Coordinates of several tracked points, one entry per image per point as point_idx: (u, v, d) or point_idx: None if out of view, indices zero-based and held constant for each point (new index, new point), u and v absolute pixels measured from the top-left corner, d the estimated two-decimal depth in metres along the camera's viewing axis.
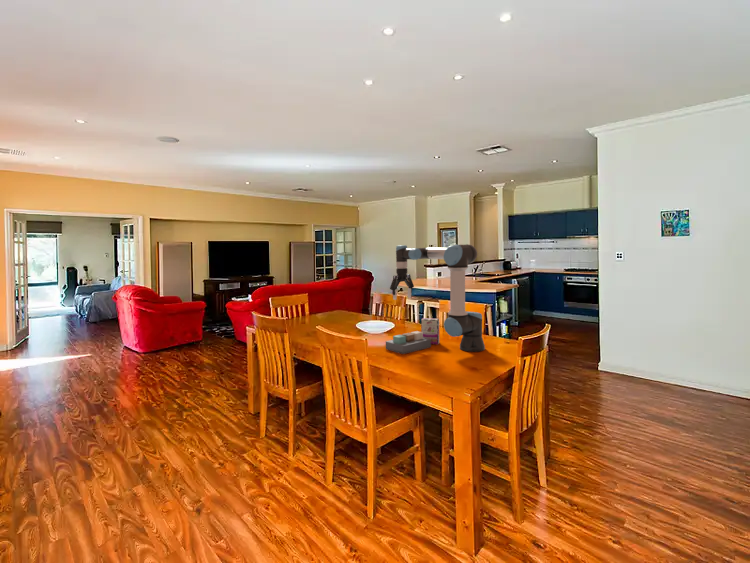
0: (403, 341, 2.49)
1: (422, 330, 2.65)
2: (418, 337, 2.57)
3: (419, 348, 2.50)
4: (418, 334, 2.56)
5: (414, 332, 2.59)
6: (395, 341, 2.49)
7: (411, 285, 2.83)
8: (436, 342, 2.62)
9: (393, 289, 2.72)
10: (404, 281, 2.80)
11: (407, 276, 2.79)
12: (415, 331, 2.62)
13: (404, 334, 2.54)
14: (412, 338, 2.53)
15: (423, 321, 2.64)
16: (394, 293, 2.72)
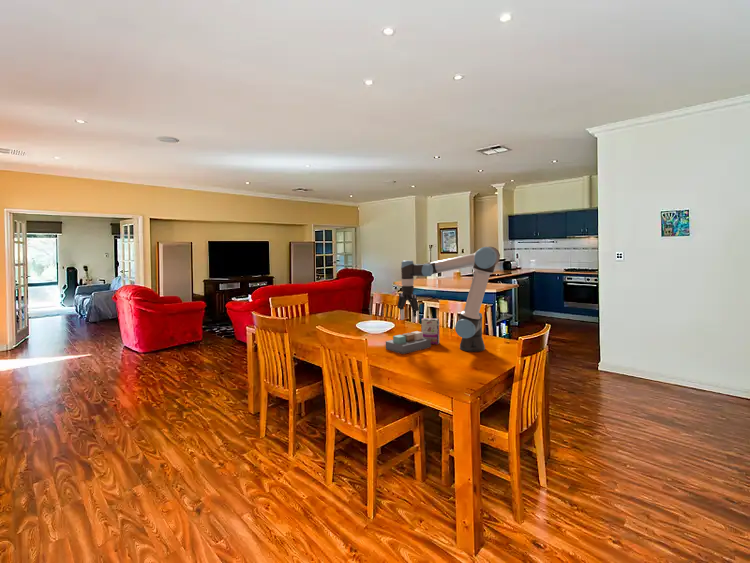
0: (403, 341, 2.49)
1: (422, 330, 2.65)
2: (418, 337, 2.57)
3: (419, 348, 2.50)
4: (418, 334, 2.56)
5: (414, 332, 2.59)
6: (395, 341, 2.49)
7: None
8: (436, 342, 2.62)
9: (399, 308, 2.58)
10: None
11: (412, 296, 2.48)
12: (415, 331, 2.62)
13: (404, 334, 2.54)
14: (412, 338, 2.53)
15: (423, 321, 2.64)
16: None
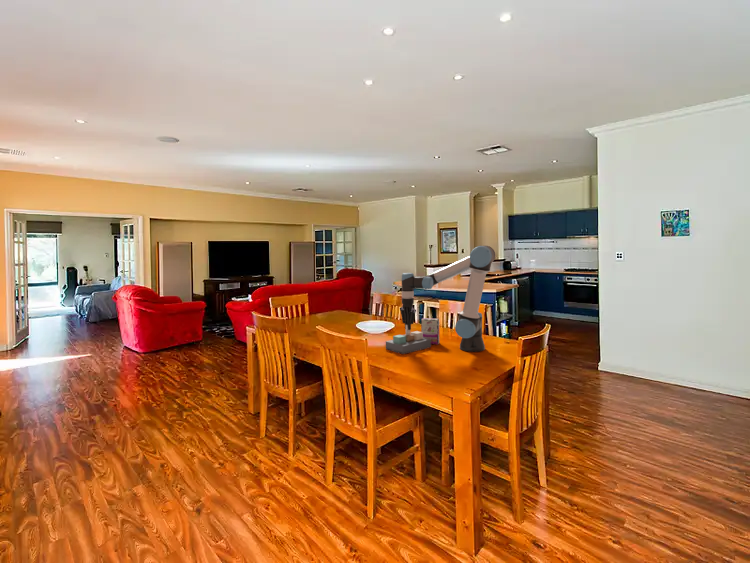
0: (403, 341, 2.49)
1: (422, 330, 2.65)
2: (418, 337, 2.57)
3: (419, 348, 2.50)
4: (418, 334, 2.56)
5: (414, 332, 2.59)
6: (395, 341, 2.49)
7: None
8: (436, 342, 2.62)
9: (405, 324, 2.55)
10: None
11: (411, 309, 2.50)
12: (415, 331, 2.62)
13: (404, 335, 2.54)
14: (412, 339, 2.53)
15: (423, 321, 2.64)
16: (405, 327, 2.55)
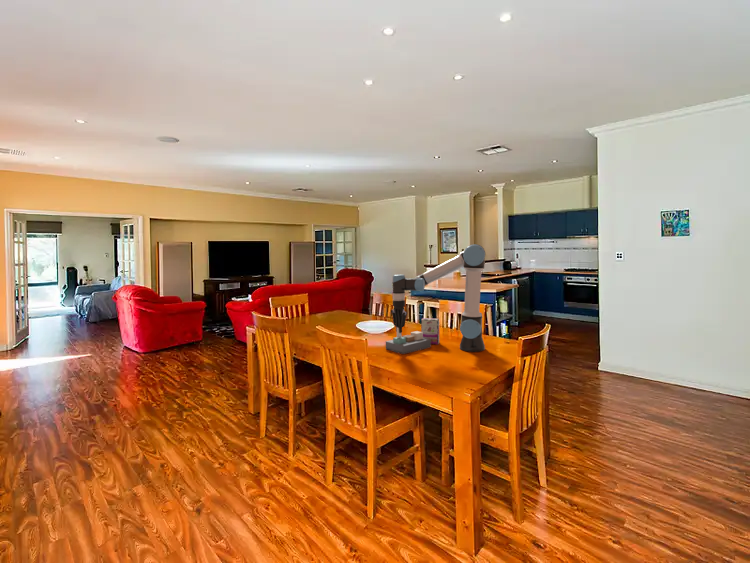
0: None
1: (422, 330, 2.65)
2: (418, 337, 2.57)
3: (419, 348, 2.50)
4: (418, 334, 2.56)
5: (414, 332, 2.59)
6: None
7: None
8: (436, 342, 2.62)
9: (396, 326, 2.50)
10: None
11: (402, 312, 2.45)
12: (415, 331, 2.62)
13: (404, 336, 2.54)
14: (412, 340, 2.53)
15: (423, 321, 2.64)
16: (396, 330, 2.50)
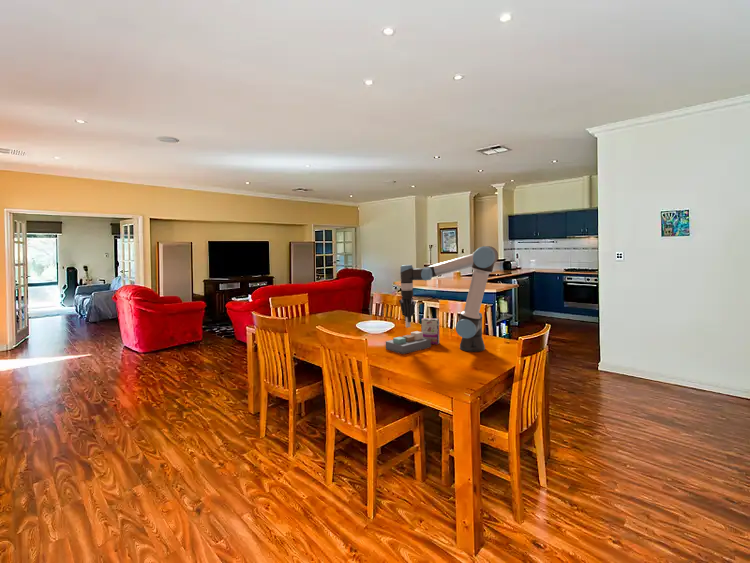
0: None
1: (422, 330, 2.65)
2: (418, 337, 2.57)
3: (419, 348, 2.50)
4: (418, 334, 2.56)
5: (414, 332, 2.59)
6: None
7: None
8: (436, 342, 2.62)
9: None
10: None
11: (411, 301, 2.48)
12: (415, 331, 2.62)
13: (404, 336, 2.54)
14: (412, 340, 2.53)
15: (423, 321, 2.64)
16: (405, 320, 2.53)
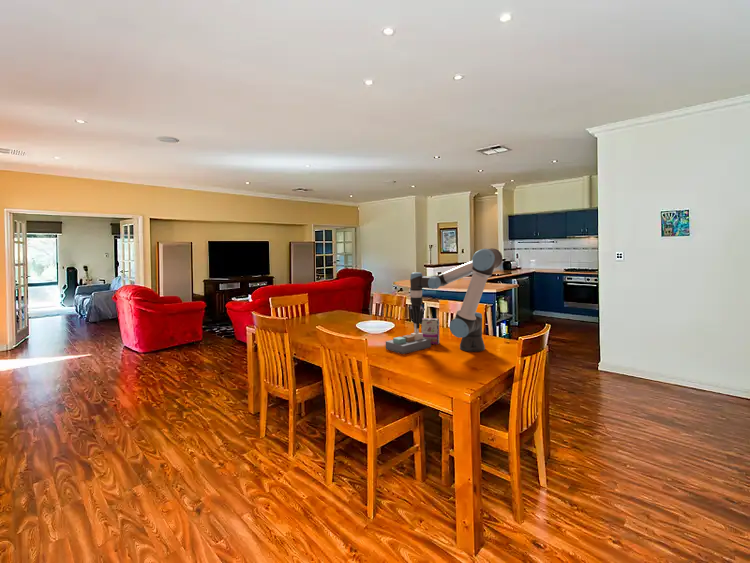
0: None
1: (422, 330, 2.65)
2: (418, 338, 2.57)
3: (419, 348, 2.50)
4: (418, 335, 2.57)
5: (414, 333, 2.59)
6: None
7: None
8: (436, 342, 2.62)
9: (413, 322, 2.60)
10: None
11: (420, 308, 2.54)
12: None
13: (404, 336, 2.54)
14: (412, 340, 2.53)
15: (423, 321, 2.64)
16: (414, 326, 2.59)
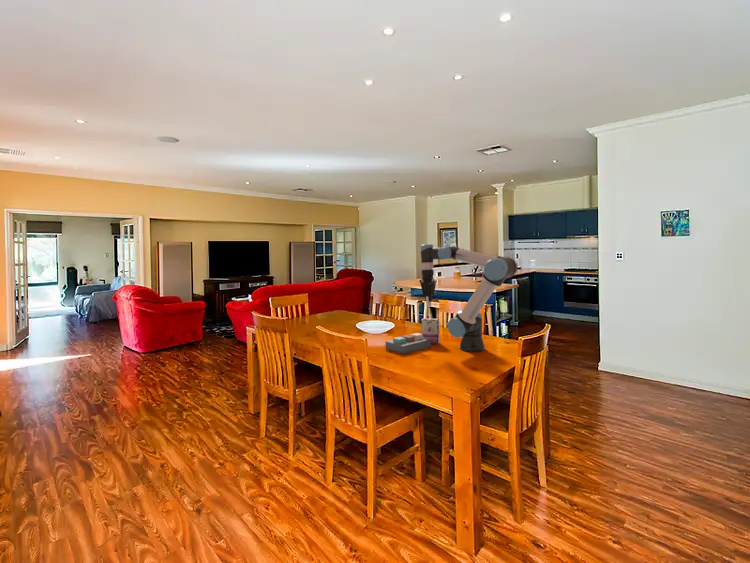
0: None
1: (422, 330, 2.65)
2: (418, 339, 2.57)
3: (419, 348, 2.50)
4: (418, 336, 2.57)
5: (414, 334, 2.59)
6: None
7: None
8: (436, 342, 2.62)
9: None
10: None
11: (432, 280, 2.50)
12: (415, 333, 2.62)
13: (404, 336, 2.54)
14: (412, 340, 2.53)
15: (423, 321, 2.64)
16: (426, 299, 2.55)
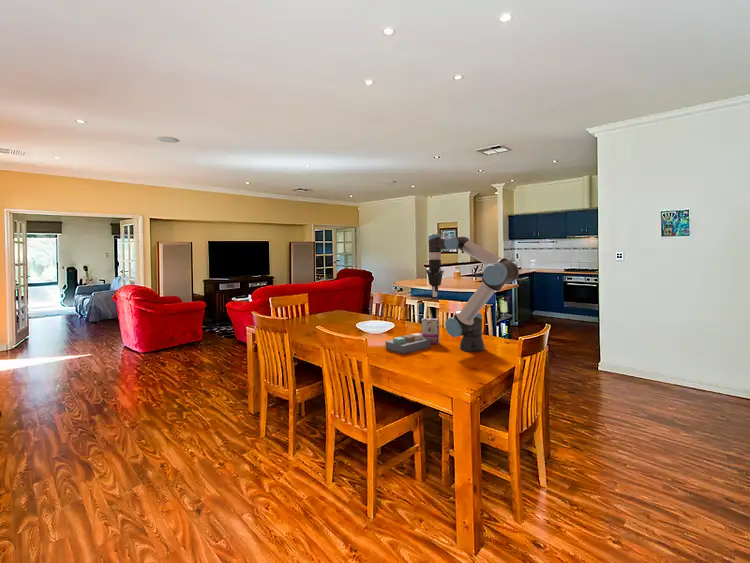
0: None
1: (422, 330, 2.65)
2: (418, 339, 2.57)
3: (419, 348, 2.50)
4: (418, 336, 2.57)
5: (414, 334, 2.59)
6: None
7: None
8: (436, 342, 2.62)
9: None
10: None
11: (439, 270, 2.48)
12: (415, 333, 2.62)
13: (404, 336, 2.54)
14: (412, 340, 2.53)
15: (423, 321, 2.64)
16: (432, 289, 2.53)
